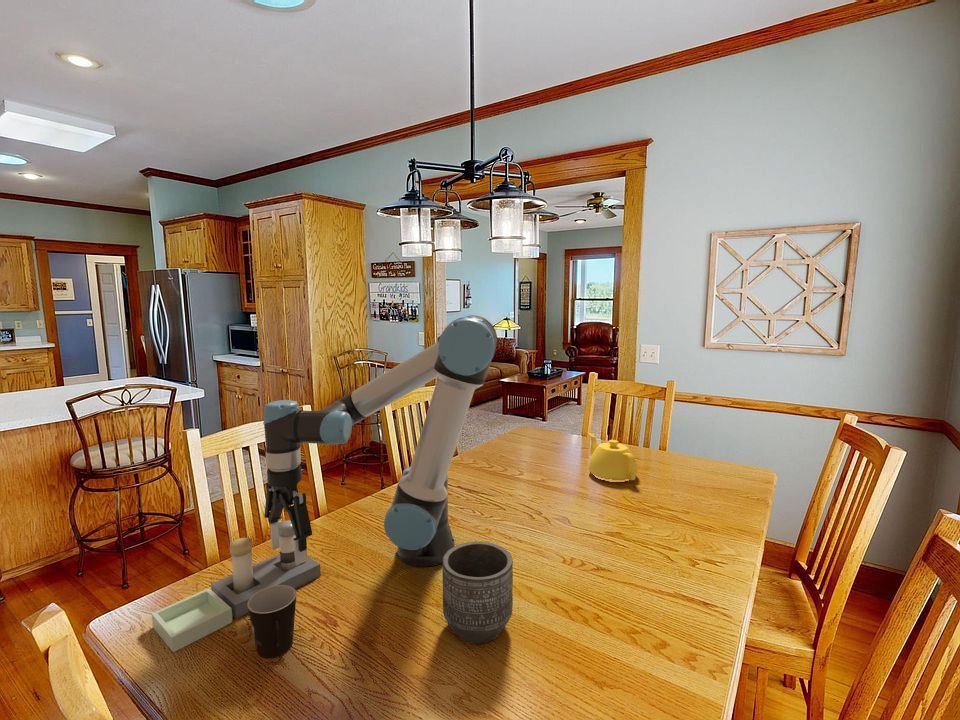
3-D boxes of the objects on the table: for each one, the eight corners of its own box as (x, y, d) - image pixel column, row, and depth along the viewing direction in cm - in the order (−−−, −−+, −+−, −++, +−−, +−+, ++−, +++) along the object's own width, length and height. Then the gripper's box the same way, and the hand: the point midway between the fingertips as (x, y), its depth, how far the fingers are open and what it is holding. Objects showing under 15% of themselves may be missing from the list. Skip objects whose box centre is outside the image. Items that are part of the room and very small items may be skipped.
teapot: (570, 468, 188) (571, 434, 186) (605, 461, 196) (606, 428, 195) (615, 490, 166) (617, 453, 165) (652, 481, 174) (654, 445, 173)
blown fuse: (303, 574, 116) (300, 523, 115) (286, 582, 113) (283, 530, 111) (293, 567, 119) (291, 518, 117) (276, 575, 116) (273, 525, 114)
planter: (457, 661, 89) (457, 587, 87) (433, 615, 101) (432, 549, 100) (524, 639, 94) (525, 569, 92) (494, 598, 107) (494, 535, 105)
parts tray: (232, 622, 99) (231, 608, 99) (173, 652, 91) (171, 637, 90) (210, 600, 106) (209, 587, 106) (152, 627, 98) (151, 613, 97)
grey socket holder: (320, 575, 116) (318, 524, 114) (236, 618, 100) (232, 560, 99) (294, 558, 123) (291, 510, 121) (211, 596, 108) (207, 542, 106)
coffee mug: (260, 631, 96) (257, 586, 95) (304, 629, 97) (301, 583, 96) (236, 677, 85) (232, 626, 83) (286, 674, 86) (283, 623, 84)
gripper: (325, 472, 108) (329, 564, 111) (274, 452, 122) (279, 534, 125) (295, 482, 102) (300, 579, 105) (245, 460, 116) (251, 545, 119)
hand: (289, 554), depth 115 cm, fingers open, 10 cm apart
